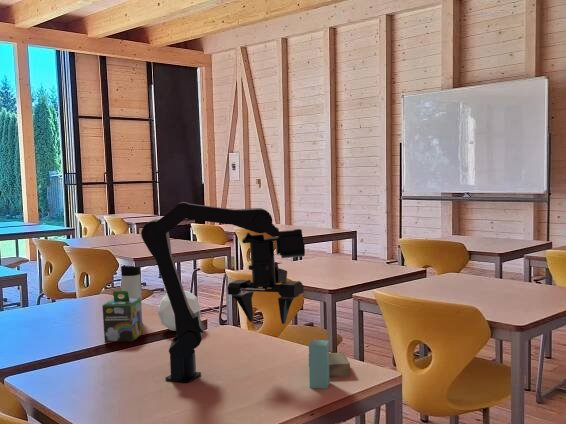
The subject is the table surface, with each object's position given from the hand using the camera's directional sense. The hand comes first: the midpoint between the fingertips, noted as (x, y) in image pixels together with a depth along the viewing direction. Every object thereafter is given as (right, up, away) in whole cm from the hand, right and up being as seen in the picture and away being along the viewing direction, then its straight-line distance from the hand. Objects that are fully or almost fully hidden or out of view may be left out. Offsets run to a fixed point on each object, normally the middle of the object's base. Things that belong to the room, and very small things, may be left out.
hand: (267, 322), depth 145 cm
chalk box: (-45, -12, +36) cm, 59 cm away
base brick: (+15, -13, +1) cm, 20 cm away
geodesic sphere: (-29, -11, +43) cm, 53 cm away
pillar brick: (+12, -13, -8) cm, 20 cm away
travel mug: (-47, -11, +53) cm, 71 cm away
